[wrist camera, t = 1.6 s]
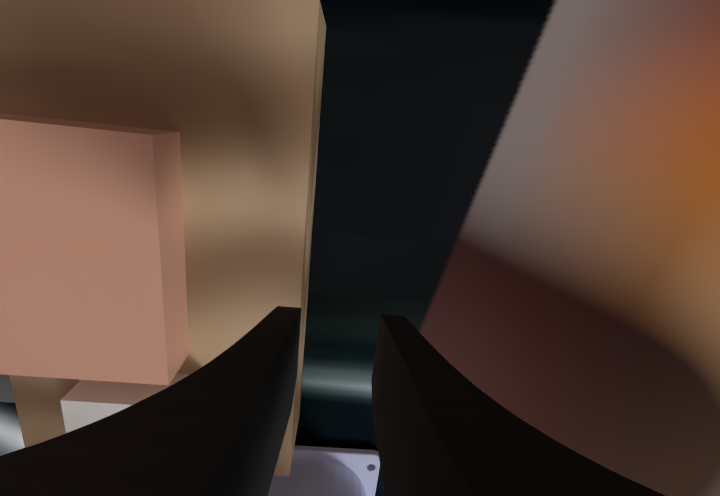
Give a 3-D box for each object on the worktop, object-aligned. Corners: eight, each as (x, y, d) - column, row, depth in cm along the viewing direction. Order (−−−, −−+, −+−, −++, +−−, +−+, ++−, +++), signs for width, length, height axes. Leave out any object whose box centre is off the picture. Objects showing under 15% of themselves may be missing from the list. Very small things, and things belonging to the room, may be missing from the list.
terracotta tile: (189, 353, 16) (168, 385, 14) (40, 343, 16) (-2, 374, 14) (179, 131, 13) (152, 134, 12) (-3, 112, 13) (-62, 112, 11)
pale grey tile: (215, 464, 18) (200, 504, 16) (105, 458, 18) (77, 498, 16) (213, 375, 17) (196, 408, 15) (93, 367, 16) (60, 400, 15)
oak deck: (299, 415, 23) (289, 475, 19) (83, 401, 22) (28, 462, 18) (326, 26, 16) (319, -1, 12) (21, -13, 15) (-86, -54, 12)
